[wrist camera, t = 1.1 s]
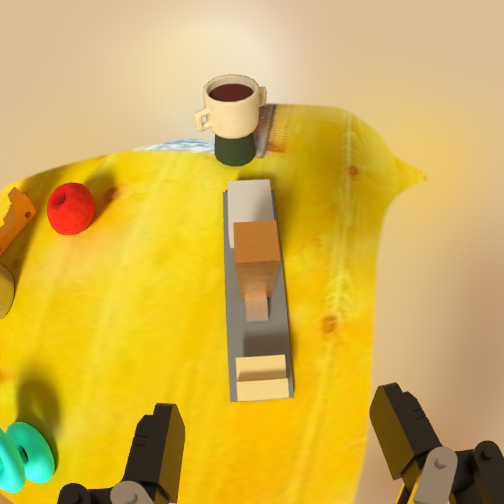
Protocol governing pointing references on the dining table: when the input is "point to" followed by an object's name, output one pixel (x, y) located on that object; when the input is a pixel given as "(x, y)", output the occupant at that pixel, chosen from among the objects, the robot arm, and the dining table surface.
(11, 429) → the donuts
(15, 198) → the pipe clamp
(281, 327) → the board
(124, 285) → the dining table surface
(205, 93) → the mug on green stand
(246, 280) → the orange-brown upright block
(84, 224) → the apple
